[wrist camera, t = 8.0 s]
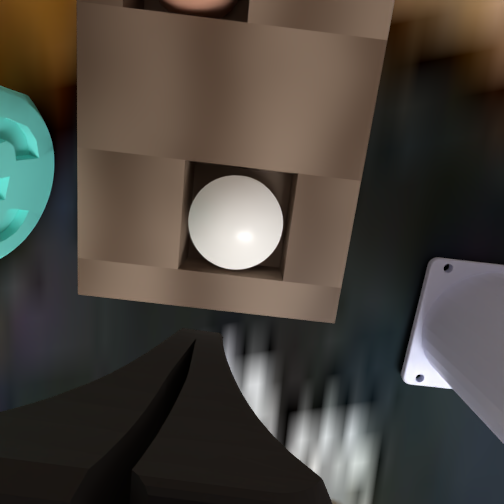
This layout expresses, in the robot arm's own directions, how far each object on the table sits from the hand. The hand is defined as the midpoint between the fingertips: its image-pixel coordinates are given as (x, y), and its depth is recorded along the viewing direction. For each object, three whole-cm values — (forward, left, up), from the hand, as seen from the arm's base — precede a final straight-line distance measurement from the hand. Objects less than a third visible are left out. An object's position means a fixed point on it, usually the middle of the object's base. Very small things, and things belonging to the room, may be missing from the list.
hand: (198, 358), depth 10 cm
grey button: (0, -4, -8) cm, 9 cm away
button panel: (+1, -10, -9) cm, 13 cm away
